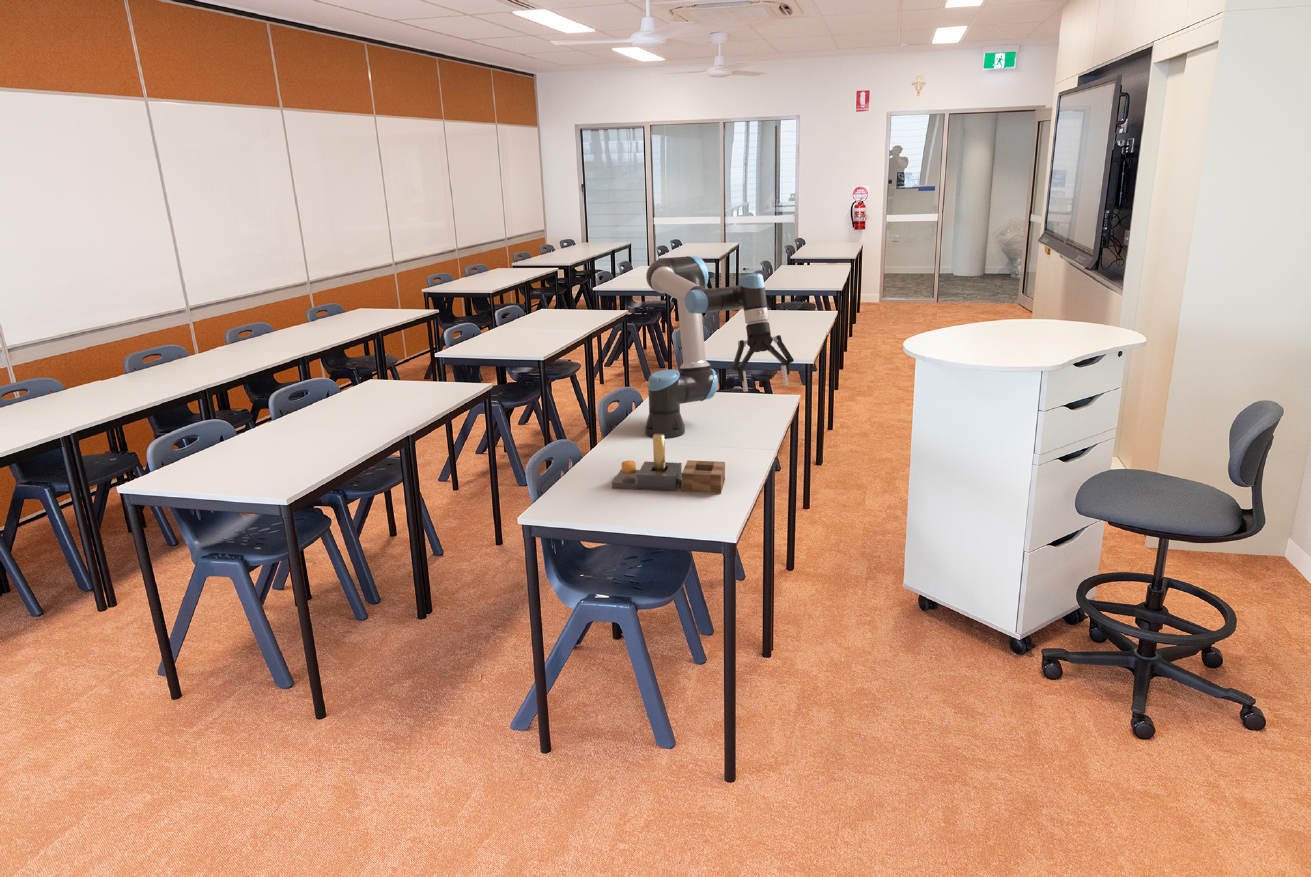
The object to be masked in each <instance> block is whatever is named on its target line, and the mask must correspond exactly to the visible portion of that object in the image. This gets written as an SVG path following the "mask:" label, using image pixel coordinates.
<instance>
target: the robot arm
mask: <svg viewBox="0 0 1311 877" xmlns="http://www.w3.org/2000/svg"><path fill="white" fill-rule="evenodd" d="M645 276H646V277H645V278H646V283H647V285H648V286H649V288H651V289H652V290H653V291H655V292H656V293H659V294H667V295H668V296H670V297H672V298H674V299H676V300H677V313H678V322H679V330H680V331H679V332H680V341H681V342H680V343H681V352H682V354H681V355H682V364H681V365H680V366H679V370H677V369H674V368H672V369H671V368H669V369H661V370H659V371H658V370H657V371H655V372H653V373H651V375H649V377H648V383H647V384H648V385H647V390H648V411H649V413H648V417H647V418H646V423H645V426H644V432H645V435H646V436H649V437H651V438H653V435H654V434H664V435H665V439H669V438H671V437H672V438H677V437H680V436H682V435H684V434H685V433H686V427H685V424H684V419H683V418H682V415H681V408H680V407H681V405H682V404H688V403H695V402H704V401H706V400H710V399H712V398H713V397H714V396H715V395H716V393H717V390H718V385H719V380H718V375H717V372H716V370H714V368H711V364H710V363H709V362H708V361H707V360H706V358H707V357H706V349H705V340H704V339H705V337H704V326H703V317H702V314H703V313H704V314H705V313H713V312H723V311H730V312H732V311H739V310H741V309H743V312H744V314H743V315H744V322H745V324H746V326H745V330H746V337H747V338H746V340H744V339H741V340H738V343H737V344H738V347H737V350H736V353H735V358H734V360H733V363H732V367H731V371H736V372H737V374H738V375H737V376H738V381H739V383H740V382H741V384H742V390H743V392H744V393H745V392H748V391H749V387H748V381H747V374H746V370H744V369H745V367H746V366H747V364H748V363H749V361H750V359H751V357H752V356H753V355H754V353H760V352H761V353H762V352H767V351H768V353H770V354H771V355H772V356H774V357H775V358H776V360H778V361H779V362H780V363H781V364H782V365H780V368H781V377H782V383H783V386H784V387H785V386H786V387H787V386H789V379H788V376H789V375H790V364H791V363H793V362H794V358H793V356H792V355H791V353H790V352H789V350H788V348H787V347H786V345H785V344H784V343H783V339H782V336H781V335H780V334H779V335H778V334H777V335H775V336H772V335H771V327H770V323H769V320H770V319H769V313H768V312H769V310H768V303H767V296H766V285H765V282H764V276H763V274H761V273H750V274H746V275H745V274H744V275H742V276H740V278H739V285H734V286H727V287H726V286H723V287H715V288H712V287H711V288H705V287H706V286H707V285H708V282H709V271H708V267H707V265H706V262H705V261H704V260H703V259H702V258H701V257H699V256H690V255H686V256H676V257H664V258H659V259H657V260H655V261H653V262H652V263H651V264H650V265H649V266H648V268H647V271H646V274H645ZM773 342H774V343H775V344H776V345H777V347H778V348H779V350H780V351H781V353H782V354H783V355H782V354H781V353H780V352H779V351H778V350H777V349H776V348H775V347H774V346H773V345H772V343H773ZM746 345H747V346H748V347H749V349H748V350H747V353H746V355H744V357H743V359H742V355H743V353H744V349H745V347H746ZM741 359H742V360H741ZM740 361H741V362H740ZM783 386H782V387H783Z"/></svg>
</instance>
